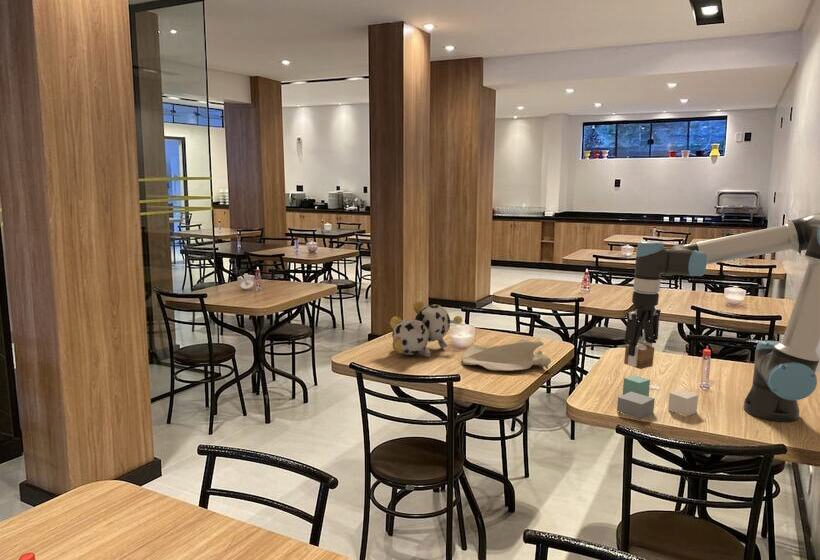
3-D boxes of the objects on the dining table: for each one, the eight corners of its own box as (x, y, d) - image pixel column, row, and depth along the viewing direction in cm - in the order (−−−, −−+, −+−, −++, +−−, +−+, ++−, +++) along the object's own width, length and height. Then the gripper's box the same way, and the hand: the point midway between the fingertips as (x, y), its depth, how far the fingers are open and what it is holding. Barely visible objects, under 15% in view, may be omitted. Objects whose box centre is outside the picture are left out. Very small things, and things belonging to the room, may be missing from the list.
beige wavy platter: (537, 376, 218) (540, 397, 223) (554, 340, 232) (556, 361, 238) (448, 360, 236) (452, 380, 241) (468, 327, 250) (472, 347, 256)
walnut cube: (652, 366, 189) (654, 347, 188) (640, 369, 186) (642, 350, 184) (636, 360, 194) (638, 342, 193) (624, 363, 190) (625, 345, 189)
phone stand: (658, 399, 204) (659, 394, 203) (621, 394, 208) (621, 389, 208) (659, 381, 222) (659, 377, 222) (625, 376, 226) (625, 372, 226)
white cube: (696, 413, 191) (698, 394, 190) (685, 417, 188) (687, 398, 187) (678, 407, 196) (680, 389, 195) (668, 410, 192) (669, 392, 191)
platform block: (653, 413, 191) (654, 398, 190) (640, 419, 185) (641, 404, 184) (629, 406, 196) (630, 391, 196) (616, 412, 191) (617, 397, 190)
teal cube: (648, 396, 205) (650, 379, 204) (637, 400, 201) (639, 383, 200) (633, 391, 210) (634, 374, 209) (622, 394, 206) (623, 378, 205)
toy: (373, 322, 244) (409, 334, 232) (426, 289, 266) (461, 298, 253) (381, 366, 253) (416, 380, 240) (432, 331, 274) (466, 342, 261)
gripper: (654, 287, 194) (647, 356, 198) (615, 292, 183) (609, 365, 187) (675, 291, 187) (668, 362, 191) (636, 296, 177) (629, 372, 181)
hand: (639, 363), depth 189 cm, fingers closed on walnut cube, 6 cm apart
